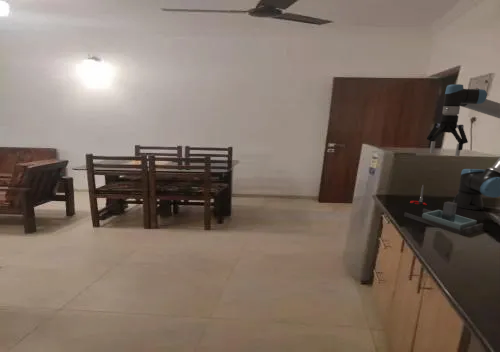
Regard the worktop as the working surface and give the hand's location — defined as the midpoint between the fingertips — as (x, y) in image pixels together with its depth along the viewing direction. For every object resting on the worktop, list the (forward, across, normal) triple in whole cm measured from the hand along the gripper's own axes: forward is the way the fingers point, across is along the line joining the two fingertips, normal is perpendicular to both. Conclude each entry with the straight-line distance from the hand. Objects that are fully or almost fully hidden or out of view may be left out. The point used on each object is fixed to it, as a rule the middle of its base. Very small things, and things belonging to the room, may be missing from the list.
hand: (444, 154), depth 169 cm
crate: (+32, +17, -18) cm, 40 cm away
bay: (+33, +14, -18) cm, 40 cm away
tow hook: (+33, -14, +6) cm, 36 cm away
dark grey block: (+31, +16, -18) cm, 39 cm away
